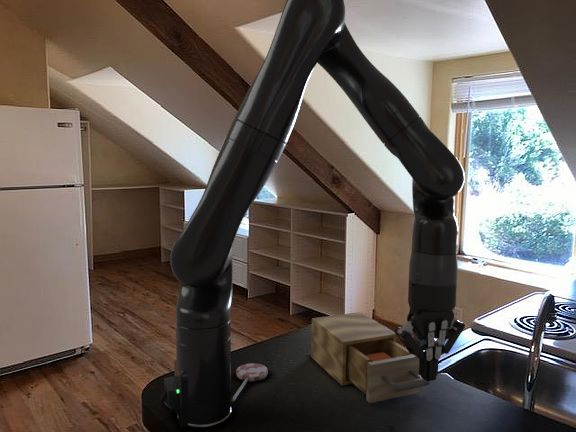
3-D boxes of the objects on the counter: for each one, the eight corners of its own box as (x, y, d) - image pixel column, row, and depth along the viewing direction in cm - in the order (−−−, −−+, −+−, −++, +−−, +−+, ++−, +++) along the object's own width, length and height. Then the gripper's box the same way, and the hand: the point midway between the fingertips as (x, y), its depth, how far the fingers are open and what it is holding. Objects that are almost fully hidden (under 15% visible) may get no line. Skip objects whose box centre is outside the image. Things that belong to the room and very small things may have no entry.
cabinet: (395, 375, 100) (397, 333, 98) (341, 385, 95) (343, 342, 94) (359, 349, 113) (360, 311, 112) (310, 357, 108) (311, 318, 107)
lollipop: (215, 395, 88) (241, 361, 103) (215, 400, 88) (241, 366, 103) (249, 399, 87) (271, 364, 101) (250, 405, 87) (271, 369, 101)
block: (376, 386, 91) (376, 364, 90) (363, 376, 95) (364, 355, 94) (395, 382, 92) (396, 360, 92) (382, 372, 96) (383, 351, 96)
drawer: (438, 404, 86) (440, 366, 85) (384, 417, 82) (386, 376, 81) (381, 363, 103) (382, 331, 102) (334, 371, 99) (335, 338, 98)
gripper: (449, 269, 84) (444, 363, 86) (385, 276, 79) (381, 376, 81) (481, 279, 77) (475, 381, 79) (413, 287, 72) (408, 396, 74)
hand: (427, 378), depth 80 cm, fingers closed
